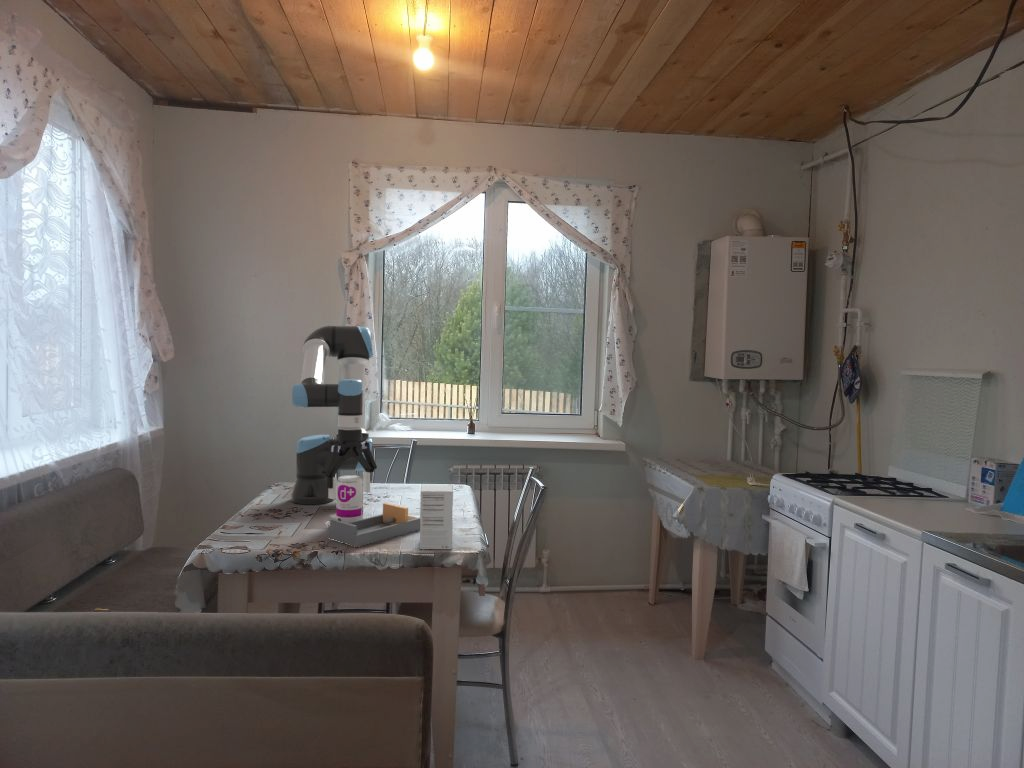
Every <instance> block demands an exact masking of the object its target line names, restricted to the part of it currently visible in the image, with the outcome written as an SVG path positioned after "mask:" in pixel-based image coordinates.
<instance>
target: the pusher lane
mask: <svg viewBox="0 0 1024 768" xmlns="http://www.w3.org/2000/svg"><path fill="white" fill-rule="evenodd" d="M327 529H328V530H327V531H328V532H327V533H328V534H327V535H328V536H327V537H328V538H330V539H334V540H337V541H340V542H343V543H347V544H350V545H352V546H355V547H358V548H360V547H359V546H361V547H364V546H363V545H365V546H367V545H366V544H368V545H371V544H375V543H378V542H381V541H380V540H382V541H385V540H388V538H389V539H392V538H395V536H396V537H399V536H402V535H405V534H409V533H413V532H416V530H417V531H420V530H419V529H420V516H415V515H411V514H408V521H405V522H402V523H398V524H394V525H391V524H386V523H384V522H383V513H382V514H378V515H373V516H370V517H366V518H365V517H364V518H363V519H361V520H357V521H353V522H349V523H346V522H342V521H338V520H336V518H335V519H334V518H332V519H329V526H328V528H327ZM328 538H327V539H328ZM384 539H385V540H384ZM377 541H378V542H377ZM374 542H375V543H374ZM370 543H371V544H370ZM355 547H354V548H355Z"/></svg>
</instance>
